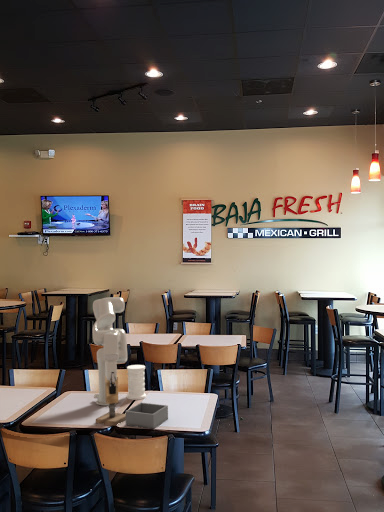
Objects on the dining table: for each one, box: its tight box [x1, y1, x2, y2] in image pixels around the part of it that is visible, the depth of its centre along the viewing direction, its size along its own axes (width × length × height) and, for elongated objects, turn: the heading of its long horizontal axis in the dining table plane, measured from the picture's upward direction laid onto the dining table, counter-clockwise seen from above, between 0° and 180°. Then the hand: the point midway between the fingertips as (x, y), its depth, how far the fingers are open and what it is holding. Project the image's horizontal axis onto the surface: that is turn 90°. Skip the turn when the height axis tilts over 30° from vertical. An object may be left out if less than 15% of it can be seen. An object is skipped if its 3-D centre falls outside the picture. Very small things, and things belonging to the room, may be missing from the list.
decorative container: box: [126, 364, 147, 401], centre depth 292 cm, size 12×12×18 cm
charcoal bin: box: [125, 402, 169, 430], centre depth 246 cm, size 16×16×7 cm
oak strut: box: [105, 375, 119, 404], centre depth 250 cm, size 6×6×13 cm
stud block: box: [95, 403, 126, 427], centre depth 250 cm, size 12×12×9 cm
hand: (111, 391), depth 250 cm, fingers closed on oak strut, 5 cm apart
